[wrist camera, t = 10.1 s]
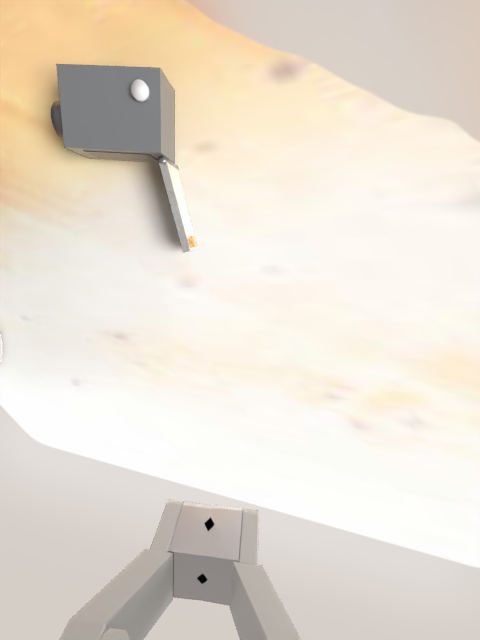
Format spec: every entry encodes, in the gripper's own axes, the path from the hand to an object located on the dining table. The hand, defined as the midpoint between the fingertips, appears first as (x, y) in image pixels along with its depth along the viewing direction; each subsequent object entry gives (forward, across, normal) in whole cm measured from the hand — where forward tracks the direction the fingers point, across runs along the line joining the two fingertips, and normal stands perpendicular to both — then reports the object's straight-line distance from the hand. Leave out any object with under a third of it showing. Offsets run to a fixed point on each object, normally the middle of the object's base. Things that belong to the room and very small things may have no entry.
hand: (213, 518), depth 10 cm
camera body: (+29, +15, -20) cm, 38 cm away
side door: (+29, +9, -11) cm, 32 cm away
